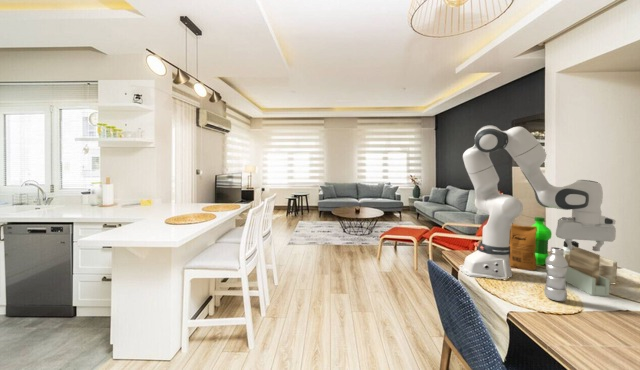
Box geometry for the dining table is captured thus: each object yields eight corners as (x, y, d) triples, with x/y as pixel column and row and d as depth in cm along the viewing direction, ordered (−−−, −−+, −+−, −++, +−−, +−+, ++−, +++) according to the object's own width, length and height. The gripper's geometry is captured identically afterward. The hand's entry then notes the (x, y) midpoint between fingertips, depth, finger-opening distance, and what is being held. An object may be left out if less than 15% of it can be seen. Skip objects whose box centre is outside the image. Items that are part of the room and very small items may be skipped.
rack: (589, 283, 119) (591, 260, 118) (560, 268, 136) (561, 249, 136) (615, 284, 117) (617, 262, 117) (582, 269, 135) (583, 250, 134)
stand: (591, 295, 107) (592, 278, 106) (560, 278, 124) (561, 264, 123) (608, 296, 106) (609, 279, 106) (575, 279, 123) (576, 264, 122)
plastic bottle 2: (562, 305, 99) (564, 252, 98) (540, 297, 105) (542, 247, 104) (570, 301, 102) (572, 249, 101) (548, 294, 108) (550, 245, 107)
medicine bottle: (583, 265, 142) (584, 242, 141) (569, 265, 142) (570, 242, 141) (570, 260, 149) (571, 239, 148) (557, 260, 149) (558, 239, 148)
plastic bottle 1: (530, 259, 151) (532, 215, 150) (553, 264, 142) (555, 218, 141) (522, 262, 146) (523, 217, 145) (546, 268, 137) (548, 220, 136)
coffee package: (507, 261, 147) (509, 222, 146) (536, 266, 139) (538, 225, 138) (505, 266, 140) (506, 224, 139) (535, 272, 131) (537, 228, 130)
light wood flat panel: (591, 290, 109) (593, 254, 108) (568, 279, 121) (570, 246, 120) (598, 291, 109) (599, 255, 108) (574, 279, 120) (576, 246, 120)
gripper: (563, 218, 112) (561, 250, 113) (620, 220, 109) (617, 254, 109) (553, 215, 118) (551, 246, 119) (606, 218, 115) (603, 249, 116)
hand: (583, 250), depth 114 cm, fingers open, 8 cm apart
